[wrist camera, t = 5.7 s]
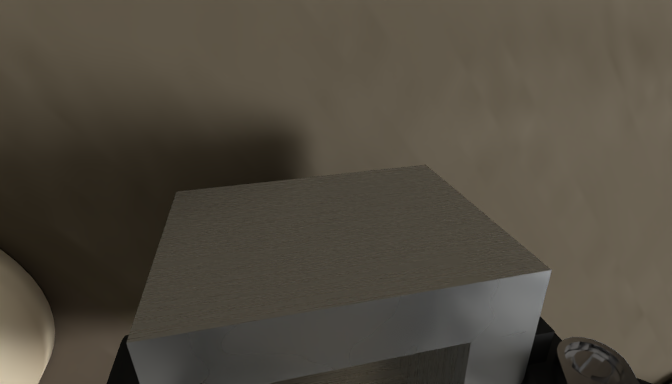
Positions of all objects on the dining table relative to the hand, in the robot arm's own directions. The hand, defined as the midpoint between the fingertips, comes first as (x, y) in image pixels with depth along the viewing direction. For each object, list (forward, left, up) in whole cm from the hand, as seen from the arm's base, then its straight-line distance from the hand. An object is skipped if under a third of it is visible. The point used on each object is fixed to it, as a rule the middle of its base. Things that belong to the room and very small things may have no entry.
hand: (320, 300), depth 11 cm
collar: (0, 0, -1) cm, 1 cm away
